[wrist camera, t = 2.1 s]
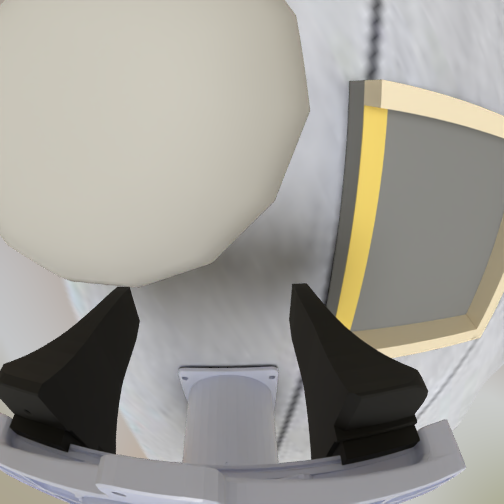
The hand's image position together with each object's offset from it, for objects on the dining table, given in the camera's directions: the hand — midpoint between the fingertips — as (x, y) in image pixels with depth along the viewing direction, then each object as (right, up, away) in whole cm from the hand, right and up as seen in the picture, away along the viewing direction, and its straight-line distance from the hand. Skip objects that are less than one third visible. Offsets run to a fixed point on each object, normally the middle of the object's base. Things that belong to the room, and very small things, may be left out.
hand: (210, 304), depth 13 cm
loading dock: (+13, +4, +4) cm, 14 cm away
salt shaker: (0, +10, 0) cm, 10 cm away
